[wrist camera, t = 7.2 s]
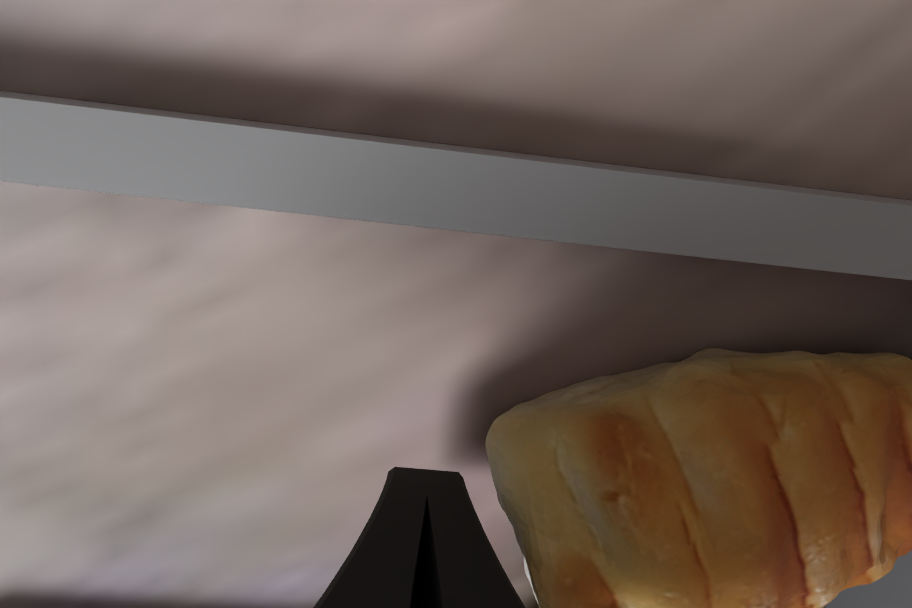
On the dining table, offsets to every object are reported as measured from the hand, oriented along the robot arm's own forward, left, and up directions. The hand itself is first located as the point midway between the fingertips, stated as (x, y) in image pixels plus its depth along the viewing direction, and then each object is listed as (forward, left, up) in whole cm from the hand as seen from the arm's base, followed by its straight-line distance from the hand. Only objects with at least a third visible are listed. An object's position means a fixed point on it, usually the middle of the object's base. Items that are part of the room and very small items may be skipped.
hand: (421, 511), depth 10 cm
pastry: (0, -6, -2) cm, 6 cm away
